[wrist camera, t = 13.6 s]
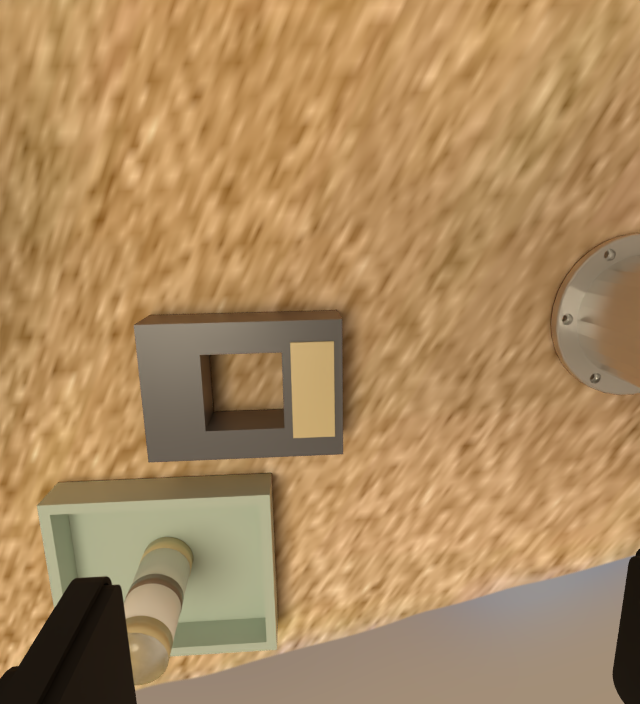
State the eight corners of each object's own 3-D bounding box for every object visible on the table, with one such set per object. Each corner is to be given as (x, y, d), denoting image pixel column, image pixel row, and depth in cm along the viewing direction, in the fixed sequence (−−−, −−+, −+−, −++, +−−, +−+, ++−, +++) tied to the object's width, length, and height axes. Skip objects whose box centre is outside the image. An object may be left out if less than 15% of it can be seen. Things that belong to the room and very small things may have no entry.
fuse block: (336, 310, 38) (342, 319, 34) (337, 432, 41) (343, 455, 37) (149, 315, 38) (132, 325, 34) (162, 439, 40) (147, 463, 36)
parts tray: (271, 472, 41) (269, 494, 38) (277, 617, 45) (276, 649, 41) (58, 482, 40) (36, 505, 37) (80, 629, 44) (63, 663, 40)
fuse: (189, 533, 41) (162, 628, 32) (196, 576, 42) (173, 680, 33) (138, 540, 41) (96, 637, 31) (147, 583, 42) (109, 689, 32)
